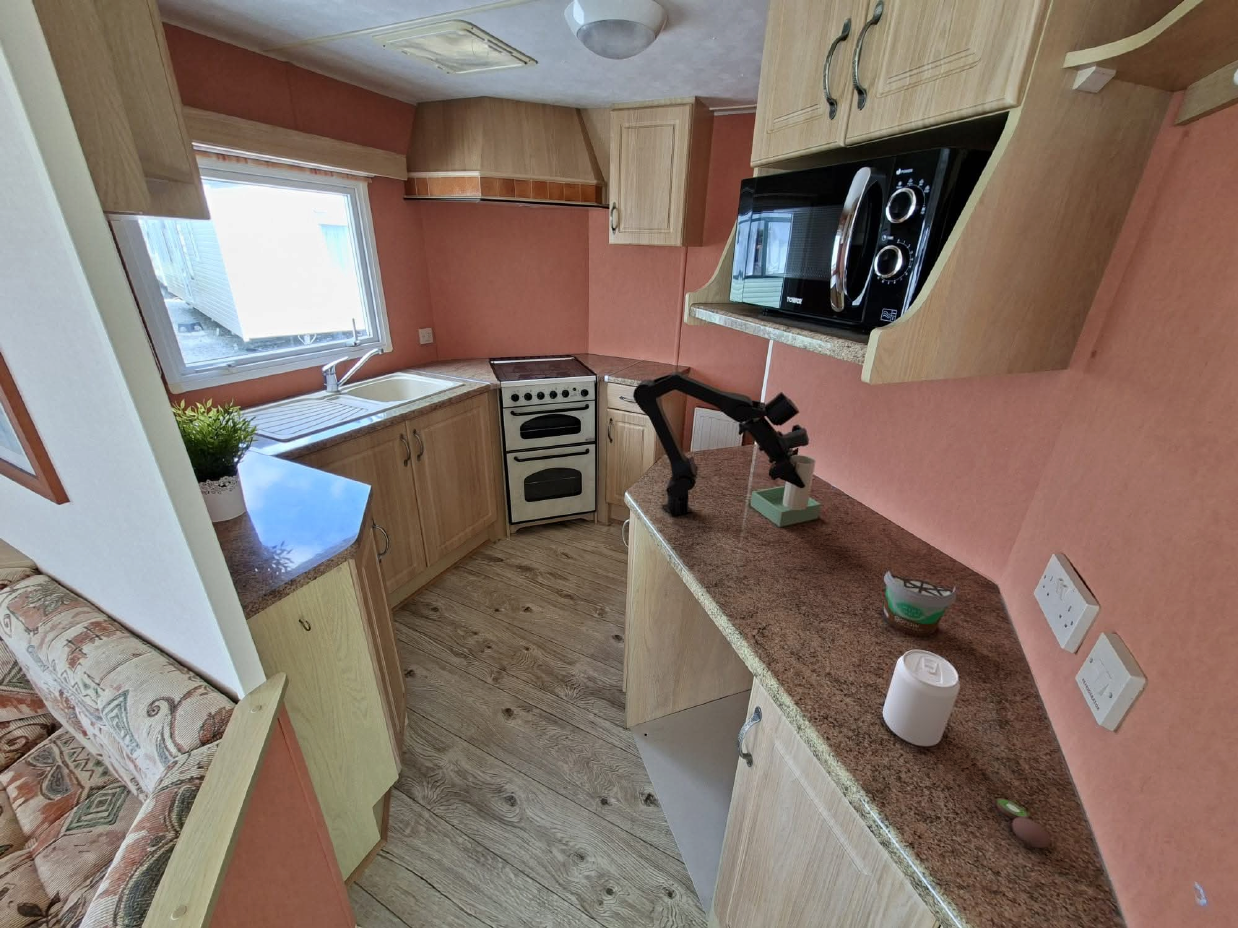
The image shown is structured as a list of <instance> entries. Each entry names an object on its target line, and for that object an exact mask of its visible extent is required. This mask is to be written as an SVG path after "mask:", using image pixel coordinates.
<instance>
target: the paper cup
mask: <svg viewBox="0 0 1238 928" xmlns="http://www.w3.org/2000/svg"><path fill="white" fill-rule="evenodd" d="M791 458H792V459H793V460H794V462H797V463H796V471H797V472H798V474H799V476H800V477H801V479H802V481H803V482H804V484H805V487H804V488H799V487H797V486H795V485H793V484H791V483H789V482H786V481H785V485H784V486H785V491H784V497H783V505H784V506H785V507H787V508H789V509H793V510H804V509H806V508H807V505H808V500H809V497H810V494H811V488H812V484H813V479H814V478H813V477H814V472H815V467H816V459H815V458H813V457H811V456H808V455H802V454H798V455H794V456H791Z"/></svg>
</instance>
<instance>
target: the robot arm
mask: <svg viewBox="0 0 1238 928" xmlns="http://www.w3.org/2000/svg"><path fill="white" fill-rule="evenodd" d="M673 391H678V392H680V393H682V394H685V395H687V396H690V397H692V398H694V399H696V400H698V401H701V402H704V403H706V404H708V405H710V406H712V407H715V408H717V409H718V410H720V411H721V412H722V413H723V414H724V415H725V416H727V417H728V418H730V419H732V420H733V421H735V423H738V435H739V436H741V435H743V434H744V433H745V432H746V433H747V434H748V435H749V436H750V437H751V439H753V441H754V442H755V443H756V444H757V446H758V450H759V452H763V453H764V454H765V456H767V457H768V462H769V464H770V466H769V469H768V476H769V477H770V478H771V480H772V481H776V480H778V479H779V480H781V481H784V482H785V483H786V482H789V483H791V484H793V485H795V486H797V487H799V488H804V487H805V484H804V482H803V481H802V479H801V477H800V476H799V474H798V472H797V471H796V463H797V462H794V460H793V459H792V458H791V456H794V455H799V449H800V447H806V446H808V445H809V443H810V438H809V436H808V431H807V429H806V428H805V427H801V425H800V424H798V423H797V424H794V425H792V427H791V431H788V432H787V433H784V434H783V433H782V431H781V430H776V429H775V427H774V426H776V427H778V426H779V427H782V426H783V425H784V424H786V423H787V422H789V421H790V420H792V419H793V418H794V417H795V416H797V415H798V414H799V413H800V410H799V409H798V407H797V406H796V404H795V403H794V402H793V401H792V400H791V398H789V397H788V396H787V395H786V394H784V392H782V391H780V392H779V393H777V394H776V396H775V397H774V398H772V399H771V400H769V401H768V402H767V403H765V402H762V401H758V400H753V399H752V398H751V397H750V396H748V395H745V394H741V393H737V392H730V391H724V390H722V389H719V388H716V387H713V386H711V385H708V384H706V383H705V382H701V381H699V380H697V379H695V378H692V377H690V376H688V375H685V374H683V373H682V372H681V371H673V372H671V373H669V374H666V375H662V376H660V377H656V378H654V379H649V378H646V379H643V380H641V381H640V382H639V384H637V386H636V387H635V388H634V390H633V393H632V397H633V400H634V402H635V403H636V405H637V406H638V408H639V409H640V410H641V411H642V412H643V413H644V414H645V415H646V416H647V417H648V418H649V420H650V422H651V425H652V427H653V429H654V431H655V433H656V435H657V438H658V439H659V442H660V444H661V446H662V447H663V450H664V452H665V454H666V456H667V458H668V461H669V463H670V469H671V476H670V477H669V480H668V483H667V486H666V488H665V492H666V494H667V503H665V504H662V508H663V509H664V510H665V511H666V513H668V514H669V515H670V516H671V517H676V516H682V515H686V514H691V513H692V512H693V510H692V509H691V508H690V507H689V491H691V490H693V489H694V488H695V486H696V482H697V478H698V473H699V472H698V471H699V467H698V466H697V463H696V462H695V459H694V456H693V455H692V456H690V457H688V456H687V455H686V454H685V453H684V451H683V449H682V447H681V445H680V443H679V441H678V438H677V436H676V434H675V432H674V430H673V426H672V425H671V423H670V422H669V419H668V416H667V415H666V412H665V410H664V406H663V399H662V396H664V395H666V394H669V393H671V392H673Z"/></svg>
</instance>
